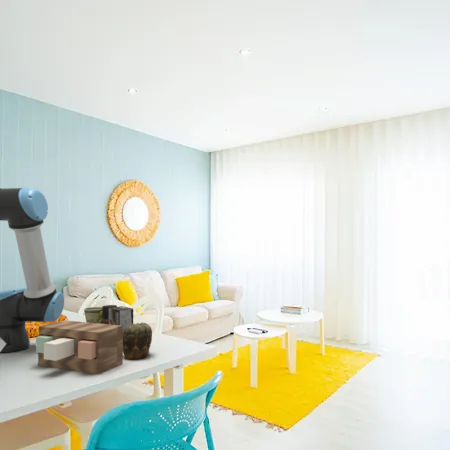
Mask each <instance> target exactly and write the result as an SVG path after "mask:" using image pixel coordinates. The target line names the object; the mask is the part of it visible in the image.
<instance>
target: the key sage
mask: <svg viewBox="0 0 450 450" xmlns="http://www.w3.org/2000/svg"><path fill="white" fill-rule="evenodd" d="M53 340H54V335H42V336H39V335H38V336H36V340H35V342H36V343H35V353H44V343H46V342H49V341H53Z"/></svg>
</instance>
